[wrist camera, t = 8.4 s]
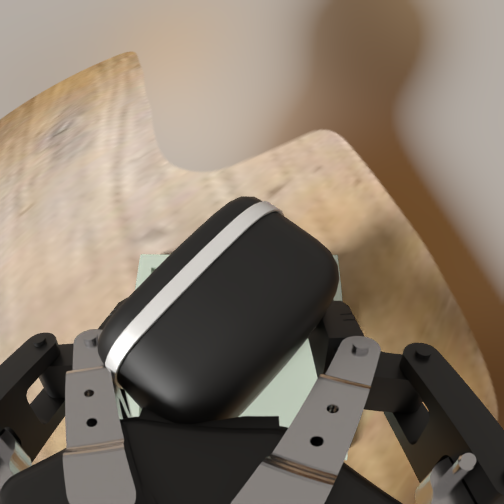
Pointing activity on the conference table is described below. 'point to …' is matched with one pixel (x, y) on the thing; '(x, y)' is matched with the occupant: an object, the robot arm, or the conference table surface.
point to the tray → (281, 387)
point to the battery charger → (220, 314)
